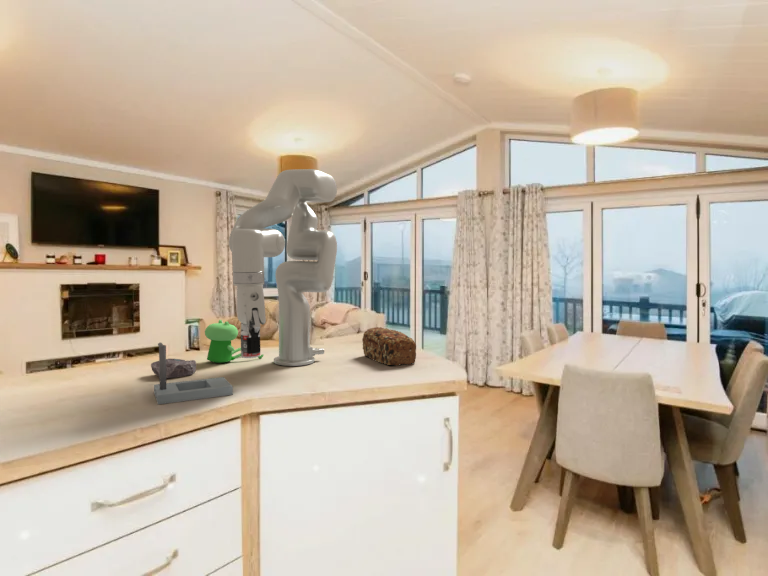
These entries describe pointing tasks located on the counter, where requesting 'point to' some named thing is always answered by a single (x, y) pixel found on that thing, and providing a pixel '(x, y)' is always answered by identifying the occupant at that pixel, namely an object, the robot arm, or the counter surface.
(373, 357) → the bread
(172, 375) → the rock
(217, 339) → the toy character
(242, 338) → the pill bottle
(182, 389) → the gray slotted post stand
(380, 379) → the counter surface
